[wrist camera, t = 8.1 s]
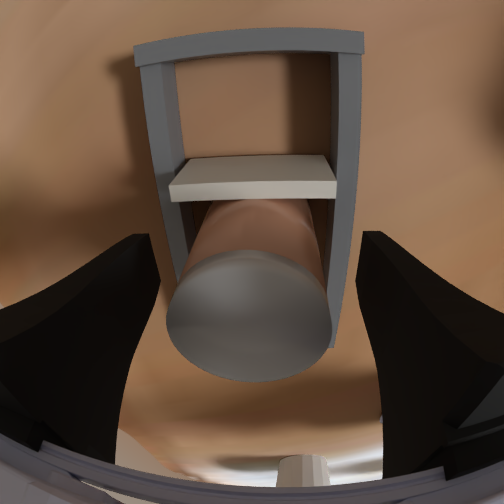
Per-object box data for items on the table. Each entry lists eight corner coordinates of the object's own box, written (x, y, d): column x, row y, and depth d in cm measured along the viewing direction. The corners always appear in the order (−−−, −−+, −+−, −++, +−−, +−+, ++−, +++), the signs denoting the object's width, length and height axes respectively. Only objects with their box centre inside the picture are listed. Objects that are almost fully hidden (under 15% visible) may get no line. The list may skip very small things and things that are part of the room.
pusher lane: (330, 326, 17) (334, 353, 16) (199, 325, 18) (192, 351, 16) (350, 36, 9) (363, 31, 8) (153, 47, 10) (133, 46, 8)
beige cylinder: (267, 467, 32) (264, 516, 27) (284, 450, 29) (282, 508, 23) (317, 470, 33) (318, 516, 27) (341, 453, 29) (344, 507, 23)
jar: (305, 258, 15) (318, 383, 9) (214, 254, 15) (180, 375, 9) (314, 170, 13) (346, 273, 7) (208, 167, 13) (152, 265, 7)
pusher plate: (323, 169, 12) (335, 198, 10) (192, 172, 13) (171, 202, 10) (323, 155, 12) (337, 181, 10) (190, 158, 12) (168, 185, 10)
